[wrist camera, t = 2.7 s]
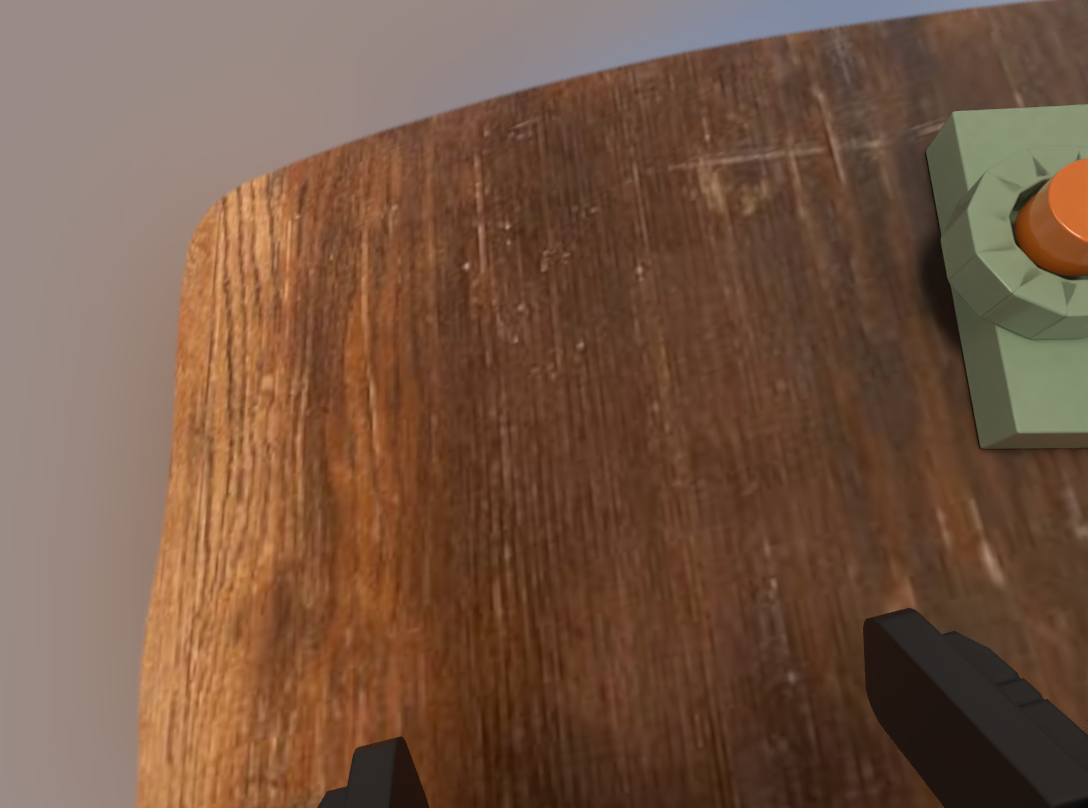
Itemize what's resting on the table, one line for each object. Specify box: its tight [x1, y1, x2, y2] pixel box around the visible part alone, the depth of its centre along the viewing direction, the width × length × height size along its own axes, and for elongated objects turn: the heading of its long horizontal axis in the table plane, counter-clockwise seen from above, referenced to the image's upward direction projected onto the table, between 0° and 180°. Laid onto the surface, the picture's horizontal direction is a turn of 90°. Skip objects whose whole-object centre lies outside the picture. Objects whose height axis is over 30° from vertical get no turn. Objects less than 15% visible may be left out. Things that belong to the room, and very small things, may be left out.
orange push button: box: [1015, 158, 1088, 277], centre depth 19 cm, size 3×3×2 cm
